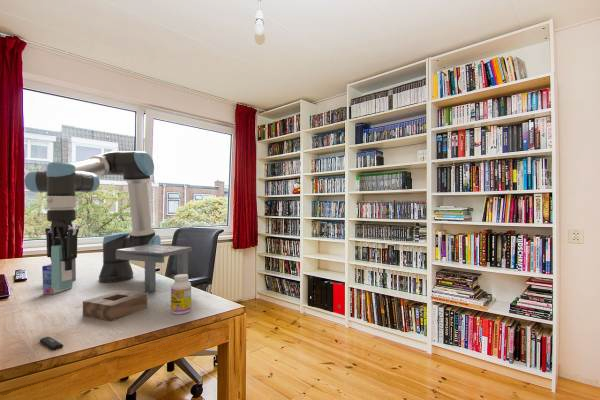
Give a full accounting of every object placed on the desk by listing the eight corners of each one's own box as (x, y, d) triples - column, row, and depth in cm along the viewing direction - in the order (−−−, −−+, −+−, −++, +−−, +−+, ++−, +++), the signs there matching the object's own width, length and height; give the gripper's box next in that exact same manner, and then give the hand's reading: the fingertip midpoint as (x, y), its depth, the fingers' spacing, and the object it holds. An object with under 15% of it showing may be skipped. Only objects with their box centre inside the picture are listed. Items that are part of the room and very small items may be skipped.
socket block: (82, 315, 105) (82, 301, 105) (120, 303, 118) (120, 290, 118) (111, 321, 100) (111, 305, 100) (147, 307, 113) (147, 293, 113)
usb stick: (63, 348, 82) (63, 343, 82) (51, 353, 79) (51, 347, 79) (50, 340, 87) (50, 334, 87) (38, 344, 85) (38, 338, 85)
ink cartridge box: (61, 287, 140) (61, 256, 140) (72, 288, 139) (72, 256, 140) (41, 294, 130) (41, 260, 130) (53, 294, 130) (53, 260, 130)
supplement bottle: (166, 313, 107) (166, 276, 107) (182, 307, 113) (182, 272, 113) (180, 316, 104) (180, 278, 104) (195, 310, 110) (195, 274, 110)
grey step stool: (115, 300, 122) (115, 249, 122) (148, 289, 136) (148, 244, 137) (161, 307, 113) (161, 253, 113) (191, 295, 128) (191, 247, 128)
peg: (51, 288, 101) (51, 245, 101) (64, 285, 104) (64, 244, 104) (59, 289, 99) (59, 246, 99) (72, 286, 103) (72, 244, 103)
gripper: (32, 209, 101) (33, 279, 101) (66, 209, 95) (66, 284, 95) (57, 208, 108) (58, 274, 108) (90, 209, 102) (90, 279, 102)
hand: (62, 279), depth 102 cm, fingers closed on peg, 4 cm apart
